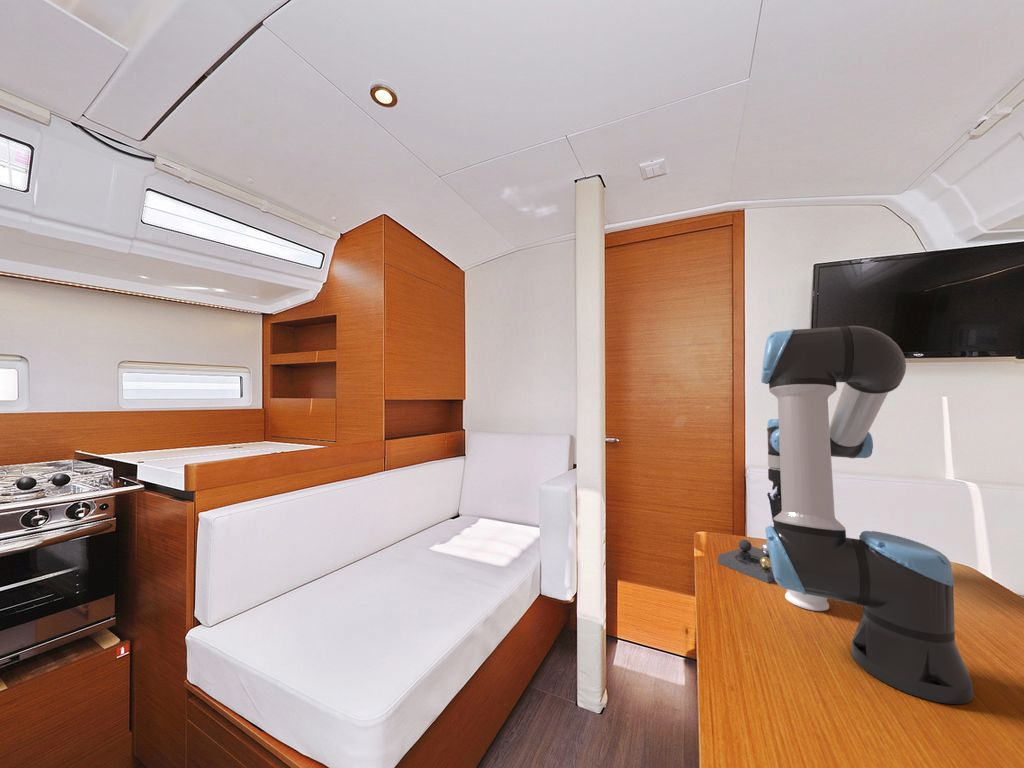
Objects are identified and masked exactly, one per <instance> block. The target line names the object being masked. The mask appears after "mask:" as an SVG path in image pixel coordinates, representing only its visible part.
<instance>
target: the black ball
mask: <svg viewBox="0 0 1024 768" xmlns="http://www.w3.org/2000/svg"><path fill="white" fill-rule="evenodd" d="M752 546H753V545H752V543H751V542H750V541H749V540H747V539H740V540H739V542H738V547H739V549H741V550H743V551H746V552H747V551H750V550H751V548H752Z"/></svg>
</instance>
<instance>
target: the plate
mask: <svg viewBox="0 0 1024 768" xmlns="http://www.w3.org/2000/svg"><path fill="white" fill-rule="evenodd" d="M751 546H752V548H751V550H750V551H747V552H746V551H743V550H741V549H740V548H737V549H733V550H729V551H726V552H723V553H720V554H718V558H717V559H718V561H717V562H718V564H719V565H722V566H725V567H727V568H729V569H733V570H734V571H737V572H740V573H742V574H744V575H746V576H749V577H751V578H755V579H756V580H759V581H762V582H764V583H767V584H770V583H772V582H776V581H775V578H774V575H773V571H772V567H771V568H770V569H765V568H763V567H762V566H761V565H760V559H761V558H762V557H768V558H769V559H770V556H768V555H765V554H764V553H763V552H762V550H761V548H759V547H756V546H753V545H751Z"/></svg>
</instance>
